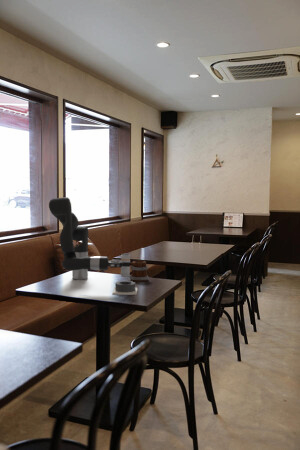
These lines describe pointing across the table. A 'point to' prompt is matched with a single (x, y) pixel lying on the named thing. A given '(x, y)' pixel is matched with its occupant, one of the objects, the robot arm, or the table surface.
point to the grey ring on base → (125, 288)
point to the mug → (139, 271)
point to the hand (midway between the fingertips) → (130, 263)
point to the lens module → (125, 270)
